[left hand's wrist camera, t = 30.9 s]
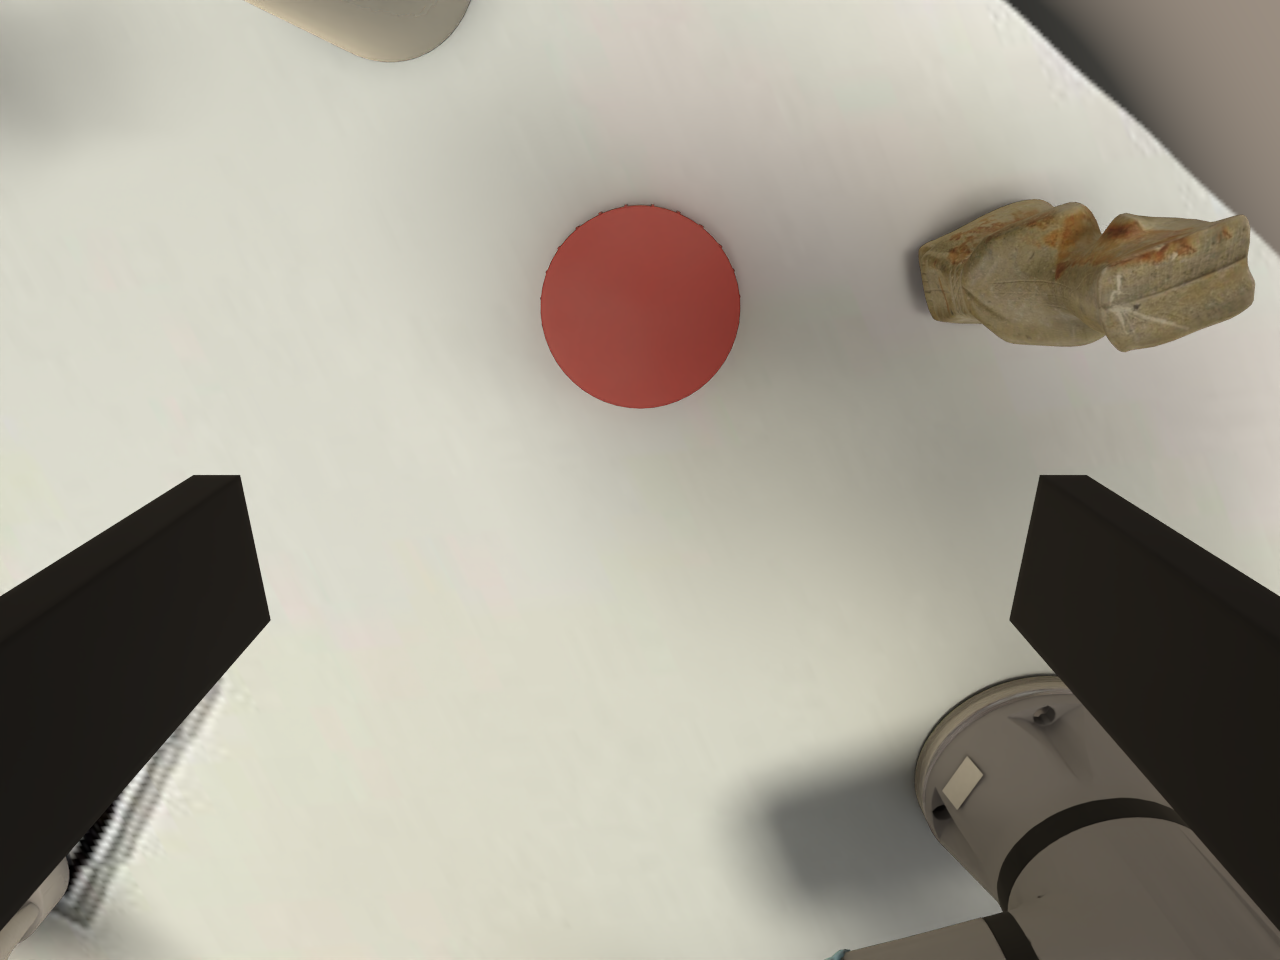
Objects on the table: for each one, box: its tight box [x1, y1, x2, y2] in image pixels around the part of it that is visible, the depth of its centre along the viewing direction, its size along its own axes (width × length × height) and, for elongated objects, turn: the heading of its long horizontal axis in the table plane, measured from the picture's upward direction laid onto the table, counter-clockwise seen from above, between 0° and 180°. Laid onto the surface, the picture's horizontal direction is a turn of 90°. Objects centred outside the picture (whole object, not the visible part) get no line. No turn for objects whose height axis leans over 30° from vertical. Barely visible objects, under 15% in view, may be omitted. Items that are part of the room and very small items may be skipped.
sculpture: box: [919, 199, 1255, 352], centre depth 31 cm, size 6×7×15 cm
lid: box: [540, 204, 740, 408], centre depth 38 cm, size 10×10×2 cm
